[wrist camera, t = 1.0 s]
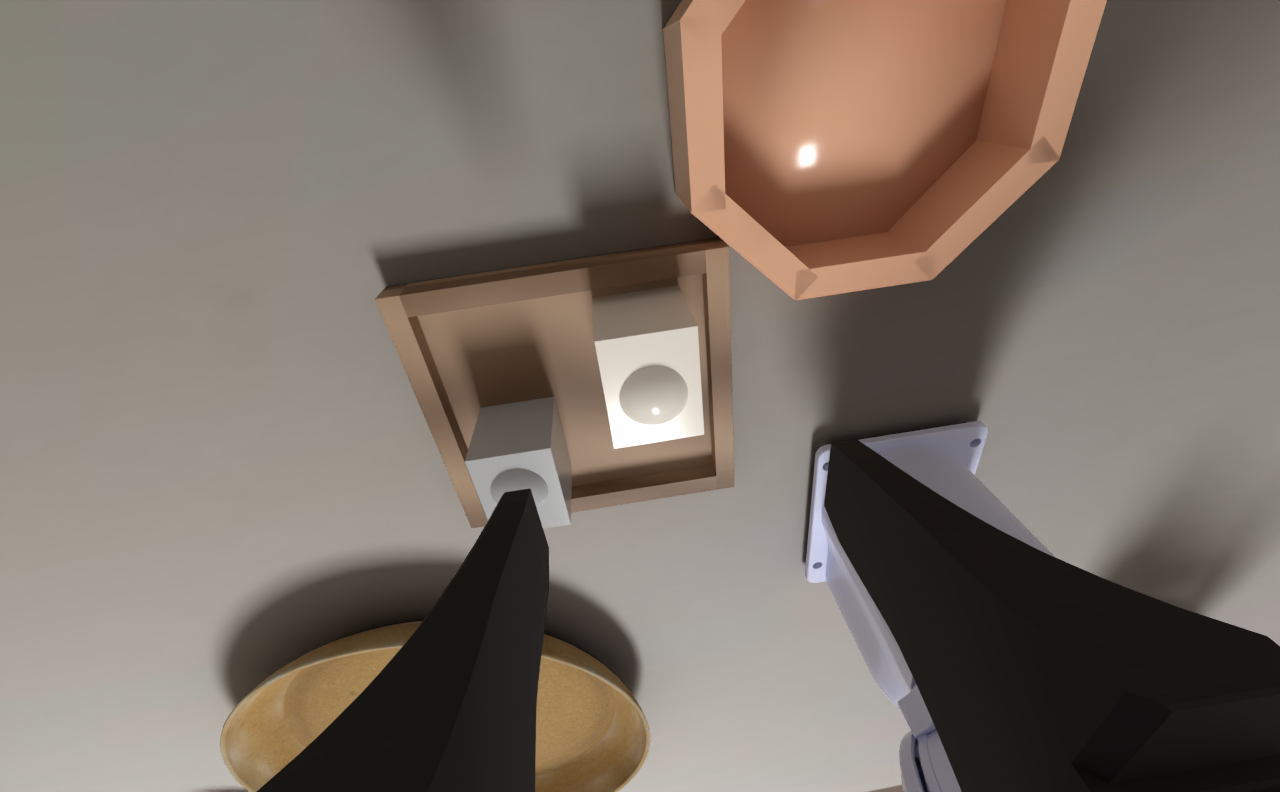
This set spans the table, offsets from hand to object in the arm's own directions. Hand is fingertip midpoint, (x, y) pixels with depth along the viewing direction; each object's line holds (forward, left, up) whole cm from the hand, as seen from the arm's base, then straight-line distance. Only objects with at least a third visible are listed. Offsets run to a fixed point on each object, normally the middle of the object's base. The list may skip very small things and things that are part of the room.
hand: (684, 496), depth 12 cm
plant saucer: (-25, +15, -10) cm, 30 cm away
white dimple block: (0, 0, -9) cm, 9 cm away
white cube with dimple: (-4, +5, -9) cm, 11 cm away
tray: (-2, +3, -9) cm, 10 cm away
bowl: (+7, -7, -9) cm, 14 cm away
